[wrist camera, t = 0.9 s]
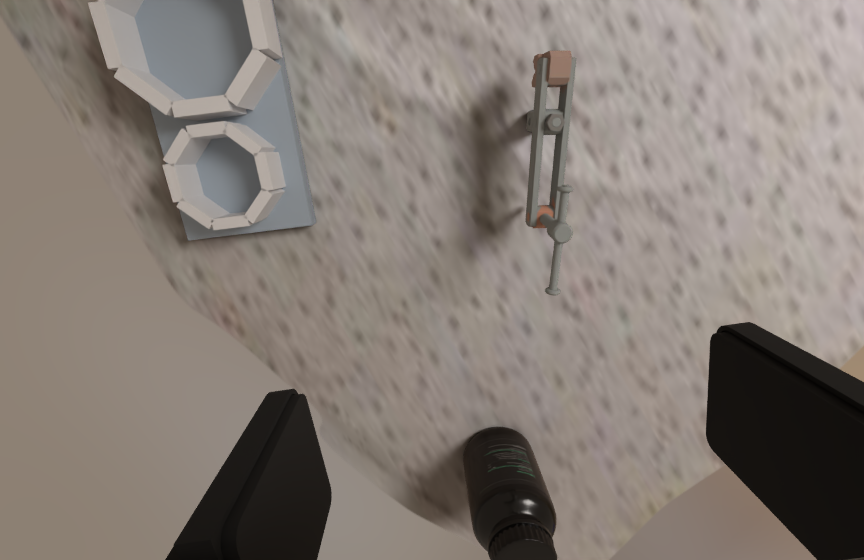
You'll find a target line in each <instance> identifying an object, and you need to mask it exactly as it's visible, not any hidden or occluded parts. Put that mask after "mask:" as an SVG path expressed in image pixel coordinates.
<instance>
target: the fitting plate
mask: <svg viewBox="0 0 864 560" xmlns="http://www.w3.org/2000/svg"><path fill="white" fill-rule="evenodd" d="M88 5H89V8H90V12H91V15H92V18H93V22H94V25H95V28H96V31H97V35H98V38H99V41H100V45H101V48H102V51H103V54H104V58H105V61H106V64H107V68H108V69H110V70H114V71H116V73H115V75H114V77H115V78H116V79H117V80H119V81H120V82H121V83H123V84H124V85H125V86H127V87H128V88H130V89H131V90H132V91H134V92H135V93H136V94H138V95H139V96H141V97H142V98H143V99H145V100H146V101H147V102H149V106H150V109H151V113H152V116H153V120H154V123H155V127H156V130H157V134H158V137H159V141H160V144H161V148H162V151H163V155H164V159H163V160H164V161H165V162H166V164H165V165H162V166H163V169H164V173H165V176H166V180H167V183H168V187H169V190H170V193H171V197H172V200H173V202H177V204H178V205H177V206H176V207H177V208H179V211H180V214H181V218H182V221H183V225H184V228H185V232H186V235H187V239H188V241H189V240H197V239H205V238H213V237H221V236H229V235H237V234H246V233H254V232H262V231H270V230H278V229H286V228H294V227H302V226H310V225H313V224H315V223H316V218H315V213H314V208H313V203H312V198H311V193H310V188H309V183H308V177H307V172H306V167H305V162H304V157H303V152H302V147H301V142H300V137H299V132H298V127H297V122H296V117H295V111H294V106H293V101H292V96H291V91H290V86H289V81H288V76H287V71H286V66H285V61H284V56H283V51H282V45H281V40H280V35H279V30H278V25H277V20H276V15H275V10H274V5H273V0H98V2H90V3H88Z"/></svg>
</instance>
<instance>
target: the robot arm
mask: <svg viewBox="0 0 864 560" xmlns="http://www.w3.org/2000/svg"><path fill="white" fill-rule="evenodd" d="M706 437H707V441H708V443H709V445H710V447H711V449H712V450H713V451H714V452H715V453H716V454H717V456H718V457H719V458H720V459H721V460H722V461H723V462H724V463H725V464H726V465H727V466H728V467H729V468H730V469H731V470H732V471H733V472H734V473H735V474H736V475H737V476H738V477H739V478H740V479H741V481H742V482H743V483H744V484H745V485H746V486H747V487H748V488H749V489H750V490H751V491H752V492H753V493H754V494H755V495H756V496H757V497H758V498H759V499H760V500H761V501H762V502H763V503H764V505H766V507H767V508H768V509H769V510H770V511H771V512H772V513H773V514H774V515H775V516H776V517H777V518H778V519H779V520H780V521H781V522H782V523H783V524H784V525H785V526H786V527H787V528H788V530H789V531H790V532H791V533H792V534H793V535H794V536H795V537H796V538H797V539H798V540H799V541H800V542H801V543H802V544H803V545H804V546H805V547H806V548H807V549H808V550H809V551H810V552H811V554H812V555H813V556H814V557H816V559H817V560H864V382H862V381H860V380H858V379H857V378H855V377H853V376H851V375H849V374H847V373H845V372H843V371H842V370H840V369H838V368H836V367H834V366H832V365H830V364H828V363H827V362H825V361H823V360H821V359H819V358H817V357H815V356H813V355H812V354H810V353H808V352H806V351H804V350H802V349H800V348H798V347H797V346H795V345H793V344H791V343H789V342H787V341H785V340H783V339H781V338H780V337H778V336H776V335H774V334H772V333H770V332H768V331H766V330H765V329H763V328H761V327H759V326H757V325H755V324H753V323H750V322H746V323H739V324H732V325H725V326H721V327H720V328H719V329H718V330H717V333H715V334H713V335H712V337H711V340H710V359H709V380H708V401H707V422H706ZM330 505H331V487H330V483H329V479H328V476H327V472H326V468H325V465H324V461H323V457H322V454H321V450H320V446H319V442H318V439H317V435H316V432H315V428H314V424H313V420H312V417H311V414H310V410H309V406H308V402H307V399H306V396H305V395H304V394H298V393H297V391H296V390H295V389H289V390H282V391H275V392H269V393H268V394H267V395H266V397H265V398H264V400H263V402H262V403H261V405H260V406H259V408H258V410H257V411H256V413H255V414H254V416H253V418H252V419H251V421H250V423H249V424H248V426H247V427H246V429H245V431H244V432H243V434H242V436H241V437H240V439H239V440H238V442H237V444H236V445H235V447H234V448H233V450H232V452H231V453H230V455H229V457H228V458H227V460H226V461H225V463H224V465H223V466H222V468H221V469H220V471H219V472H218V474H217V476H216V477H215V479H214V480H213V482H212V484H211V485H210V487H209V489H208V490H207V492H206V494H205V495H204V497H203V498H202V500H201V502H200V503H199V505H198V506H197V508H196V509H195V511H194V513H193V514H192V516H191V518H190V519H189V521H188V522H187V524H186V526H185V527H184V529H183V531H182V532H181V534H180V535H179V537H178V539H177V540H176V542H175V543H174V547H173V548H172V550H171V551H170V553H169V555H168V556H167V558H166V559H165V560H317V557H318V553H319V549H320V545H321V541H322V537H323V533H324V529H325V525H326V521H327V517H328V513H329V509H330Z"/></svg>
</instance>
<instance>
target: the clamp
mask: <svg viewBox="0 0 864 560" xmlns="http://www.w3.org/2000/svg"><path fill="white" fill-rule="evenodd" d="M533 63H534V69H535V73H534V76H533V80H532V87H535V100H534V110H531V111H529V112H528V114H527V131H529V132H532V141H531V154H530V168H529V181H528V195H527V208H526V224H527V225H528V226H529V227H533V228H547V233H548V235H549V236H550V237H551V238H552V239H553V240H554V241H555V242H554V251H553V259H552V267H551V276H550V284H549V287H548V288H546V289H545V292H546V293H547V294H549V295H558V294H560V290H559V289H558V288H557V285H558V277H559V269H560V261H561V253H562V245H563V243H566V242H568V241H569V240H570V239H571V238H572V235H573V230H572V228H571V226H570V225H568V224H567V223H566V222H565V221H566V214H567V206H568V198H569V192H572V191H573V187H572V186H569V185H563V184H564V174H565V165H566V155H567V145H568V135H569V126H570V116H571V106H572V96H573V87H574V77H575V67H576V58H572V56H571V51H548V52H546V53H544V54H538V55H536V56H534V60H533ZM547 87H560V96H559V107H558V109H546V97H547ZM543 135H556V139H555V150H554V161H553V171H552V182H551V193H550V204H549V205H542V206H538V194H539V182H540V170H541V158H542V146H543Z"/></svg>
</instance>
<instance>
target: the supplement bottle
mask: <svg viewBox="0 0 864 560" xmlns="http://www.w3.org/2000/svg"><path fill="white" fill-rule="evenodd" d="M464 470H465V478H466V485H467V492H468V499H469V506H470V514H471V521H472V527H473V531H474V534H475V537H476V539H477V540H478V542H479V543H480V545H481V546H482V547H483V548H484V549H485V550H486V551H488V554H489V557H490V559H491V560H557V554H556V551H555V548H554V544H553V539H552V537H553V535H554V532H555V528H556V513H555V509H554V506H553V503H552V501H551V498H550V495H549V493H548V490H547V487H546V485H545V482H544V480H543V477H542V474H541V472H540V469H539V466H538V464H537V461H536V458H535V456H534V453H533V451H532V448H531V446H530V444H529V442H528V441H527V439H526V438H525V437H524V436H523V435H522V434H520V433H519V432H517V431H515V430H513V429H510V428H505V427H494V428H489V429H486V430H484V431H481V432H480V433H478V434H477V435H475V436H474V437H473V438H472V439H471V440H470V442H469V443H468V444H467V446H466V449H465V452H464Z"/></svg>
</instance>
